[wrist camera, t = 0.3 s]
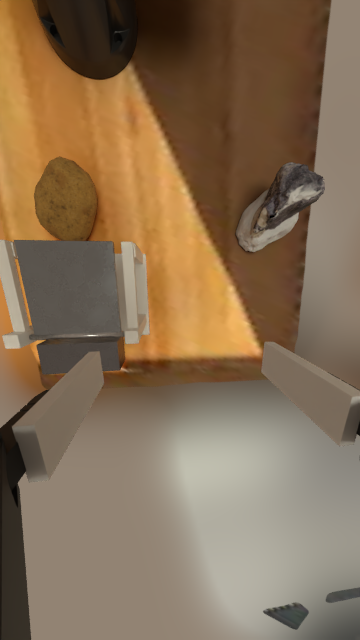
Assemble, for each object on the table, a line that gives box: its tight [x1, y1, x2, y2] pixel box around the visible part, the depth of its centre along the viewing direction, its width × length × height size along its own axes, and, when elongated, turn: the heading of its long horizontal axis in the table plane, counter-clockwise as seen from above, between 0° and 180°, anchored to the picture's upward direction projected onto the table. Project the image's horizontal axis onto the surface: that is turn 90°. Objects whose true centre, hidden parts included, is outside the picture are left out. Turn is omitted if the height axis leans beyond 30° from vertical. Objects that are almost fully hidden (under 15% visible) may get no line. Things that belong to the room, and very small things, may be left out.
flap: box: [14, 240, 125, 374], centre depth 27 cm, size 20×14×4 cm
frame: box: [0, 240, 150, 349], centre depth 31 cm, size 18×20×14 cm
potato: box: [34, 157, 97, 241], centre depth 30 cm, size 9×13×7 cm
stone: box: [236, 162, 325, 252], centre depth 32 cm, size 14×10×15 cm
